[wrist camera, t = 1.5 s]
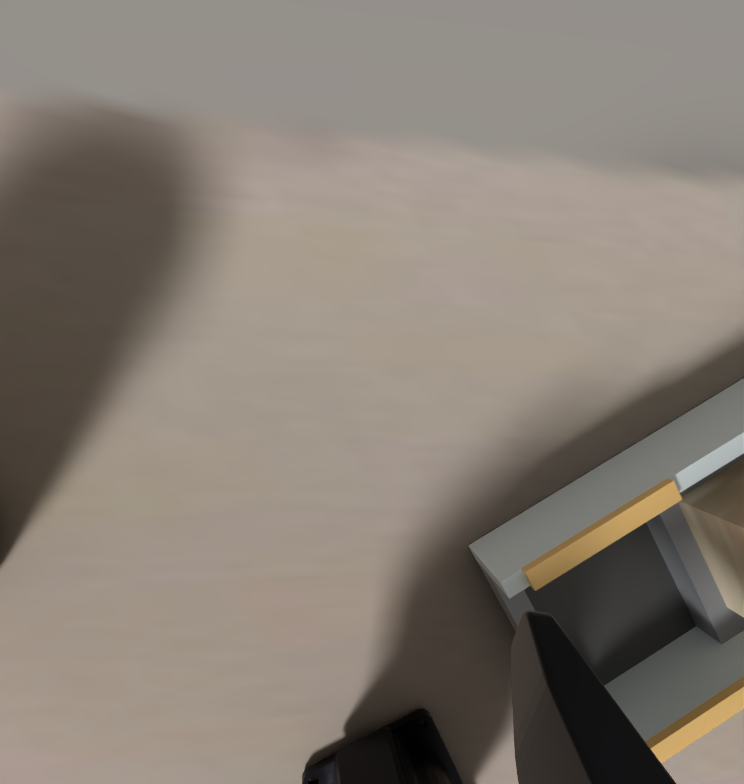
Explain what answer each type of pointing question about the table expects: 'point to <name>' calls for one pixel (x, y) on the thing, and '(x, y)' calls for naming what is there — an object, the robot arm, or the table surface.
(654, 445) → the channel
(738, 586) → the beech block
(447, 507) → the table surface
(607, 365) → the table surface
